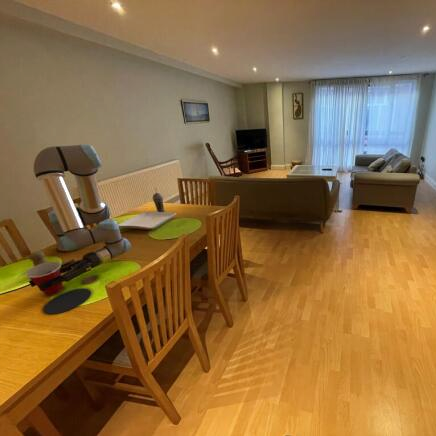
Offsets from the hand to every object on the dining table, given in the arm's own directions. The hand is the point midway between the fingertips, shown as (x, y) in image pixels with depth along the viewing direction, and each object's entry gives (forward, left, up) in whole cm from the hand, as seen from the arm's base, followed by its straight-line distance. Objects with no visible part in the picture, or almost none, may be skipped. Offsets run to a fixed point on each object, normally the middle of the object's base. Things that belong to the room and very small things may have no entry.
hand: (35, 286), depth 98 cm
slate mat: (+11, +4, -7) cm, 14 cm away
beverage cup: (-42, +93, -7) cm, 102 cm away
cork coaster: (+4, +16, -7) cm, 18 cm away
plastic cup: (-1, +5, -7) cm, 8 cm away
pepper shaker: (-24, +11, -7) cm, 27 cm away
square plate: (-30, +73, -7) cm, 79 cm away
